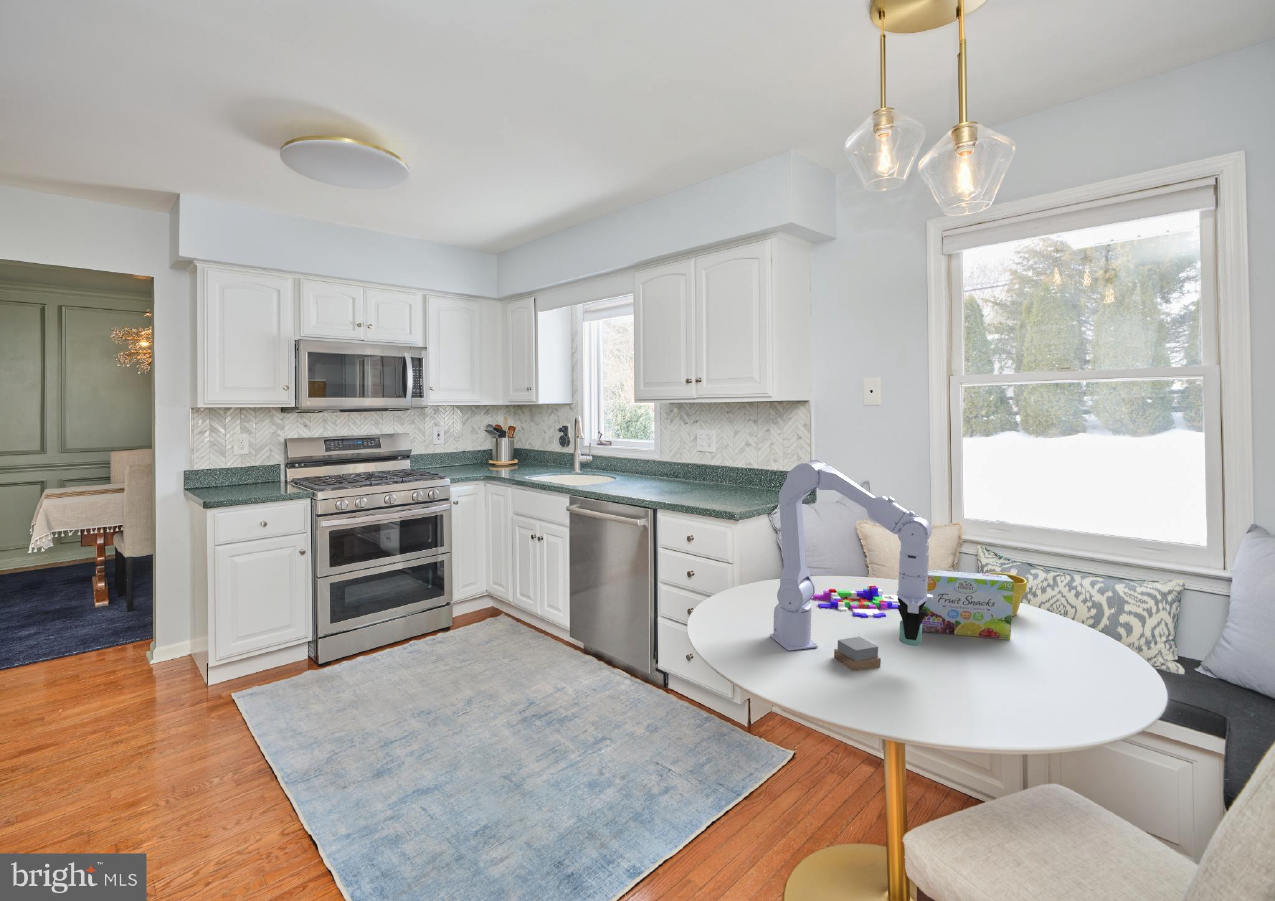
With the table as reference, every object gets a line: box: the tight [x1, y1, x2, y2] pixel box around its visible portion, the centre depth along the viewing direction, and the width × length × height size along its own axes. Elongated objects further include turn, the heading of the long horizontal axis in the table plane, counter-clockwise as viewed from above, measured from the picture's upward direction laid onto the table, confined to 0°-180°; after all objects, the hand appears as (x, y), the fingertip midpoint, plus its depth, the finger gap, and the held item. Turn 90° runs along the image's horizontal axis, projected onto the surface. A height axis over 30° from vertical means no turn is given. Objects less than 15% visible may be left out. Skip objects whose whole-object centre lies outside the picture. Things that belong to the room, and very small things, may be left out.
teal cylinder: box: [898, 620, 923, 647], centre depth 133 cm, size 4×4×4 cm
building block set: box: [812, 584, 899, 619], centre depth 175 cm, size 25×20×4 cm
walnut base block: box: [833, 648, 882, 672], centre depth 137 cm, size 7×7×2 cm
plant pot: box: [985, 572, 1028, 617], centre depth 169 cm, size 10×10×10 cm
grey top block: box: [836, 636, 879, 662], centre depth 137 cm, size 6×6×2 cm
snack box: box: [921, 569, 1014, 641], centre depth 154 cm, size 21×6×15 cm, turn 76°
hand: (910, 634), depth 133 cm, fingers closed on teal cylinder, 4 cm apart
